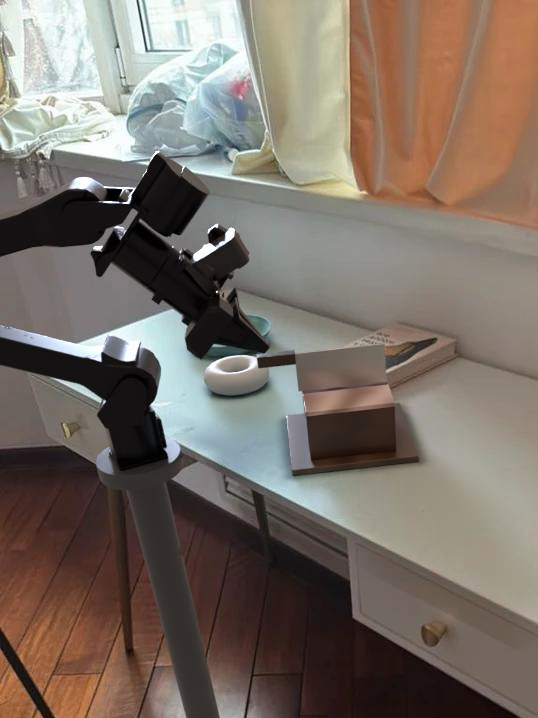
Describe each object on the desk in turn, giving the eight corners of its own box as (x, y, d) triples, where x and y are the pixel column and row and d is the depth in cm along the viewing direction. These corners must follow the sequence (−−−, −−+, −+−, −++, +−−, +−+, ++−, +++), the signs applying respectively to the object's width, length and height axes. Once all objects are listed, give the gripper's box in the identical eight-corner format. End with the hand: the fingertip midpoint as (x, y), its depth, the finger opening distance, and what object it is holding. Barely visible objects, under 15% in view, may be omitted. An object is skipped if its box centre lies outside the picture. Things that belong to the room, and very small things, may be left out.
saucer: (178, 339, 148) (175, 324, 146) (259, 323, 151) (257, 308, 150) (198, 368, 137) (195, 352, 135) (284, 349, 140) (283, 334, 139)
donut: (240, 368, 136) (192, 389, 130) (237, 347, 134) (188, 367, 128) (284, 382, 130) (235, 404, 124) (281, 360, 128) (231, 382, 122)
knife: (262, 397, 107) (256, 357, 104) (262, 392, 109) (256, 353, 105) (387, 383, 108) (385, 343, 105) (385, 379, 109) (383, 339, 106)
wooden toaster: (292, 475, 106) (285, 421, 102) (287, 420, 119) (280, 370, 115) (418, 461, 107) (417, 407, 102) (400, 407, 119) (398, 357, 115)
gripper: (195, 230, 87) (313, 324, 94) (202, 190, 102) (303, 274, 109) (136, 315, 91) (253, 399, 98) (151, 265, 106) (251, 341, 113)
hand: (267, 349), depth 104 cm, fingers closed
